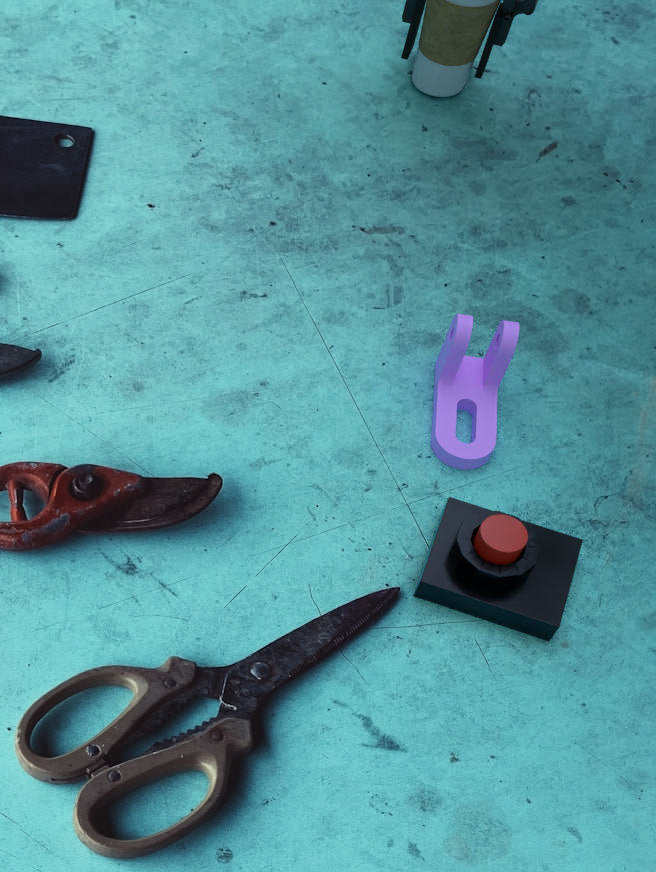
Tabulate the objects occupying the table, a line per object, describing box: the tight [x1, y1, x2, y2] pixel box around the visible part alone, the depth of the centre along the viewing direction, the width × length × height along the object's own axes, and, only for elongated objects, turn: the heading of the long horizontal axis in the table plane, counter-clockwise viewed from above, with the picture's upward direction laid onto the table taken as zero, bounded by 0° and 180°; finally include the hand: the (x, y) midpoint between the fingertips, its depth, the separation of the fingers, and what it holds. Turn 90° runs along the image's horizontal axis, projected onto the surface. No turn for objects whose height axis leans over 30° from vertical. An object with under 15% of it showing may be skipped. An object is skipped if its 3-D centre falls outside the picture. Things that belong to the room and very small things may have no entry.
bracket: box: [430, 313, 521, 471], centre depth 110 cm, size 13×6×7 cm, turn 170°
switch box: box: [412, 496, 584, 642], centre depth 103 cm, size 12×10×4 cm
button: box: [474, 514, 528, 565], centre depth 101 cm, size 4×4×2 cm
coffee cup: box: [411, 0, 502, 98], centre depth 128 cm, size 8×8×15 cm
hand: (443, 61), depth 133 cm, fingers closed on coffee cup, 8 cm apart
